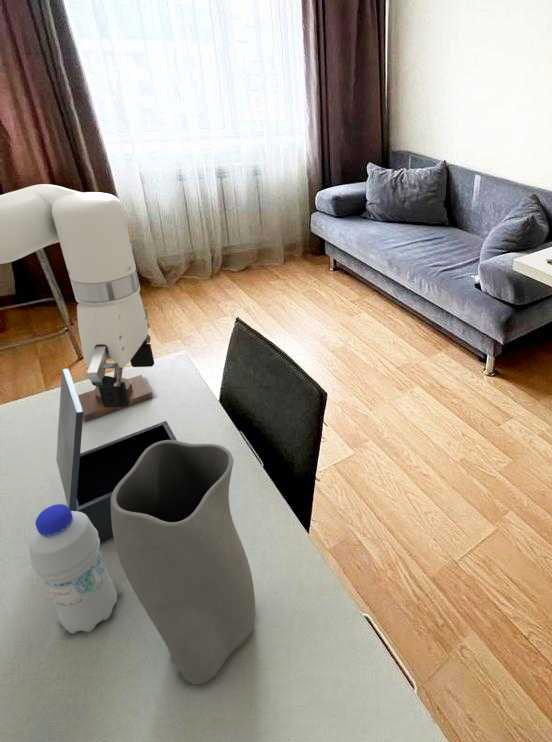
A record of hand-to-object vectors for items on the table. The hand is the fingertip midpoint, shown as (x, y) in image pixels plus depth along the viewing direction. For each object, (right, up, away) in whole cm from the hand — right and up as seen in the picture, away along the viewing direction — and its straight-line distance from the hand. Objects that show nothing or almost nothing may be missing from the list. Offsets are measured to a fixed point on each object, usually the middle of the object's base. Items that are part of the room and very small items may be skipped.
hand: (131, 384), depth 75 cm
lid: (-8, -7, -1) cm, 11 cm away
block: (-23, -10, +31) cm, 40 cm away
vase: (+17, -32, -10) cm, 38 cm away
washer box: (-5, -22, +9) cm, 24 cm away
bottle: (0, -30, -8) cm, 31 cm away
